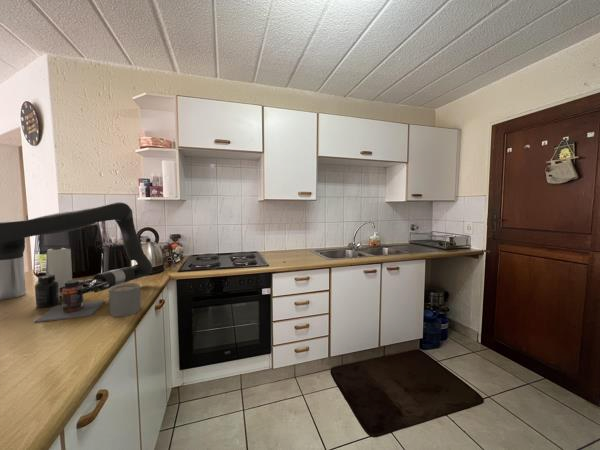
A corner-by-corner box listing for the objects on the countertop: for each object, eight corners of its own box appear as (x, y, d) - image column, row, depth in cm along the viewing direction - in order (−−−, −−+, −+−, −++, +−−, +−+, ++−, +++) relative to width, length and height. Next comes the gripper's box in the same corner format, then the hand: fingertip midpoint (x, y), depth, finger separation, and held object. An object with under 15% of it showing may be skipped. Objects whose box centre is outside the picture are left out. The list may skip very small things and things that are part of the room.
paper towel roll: (47, 295, 110) (44, 249, 108) (64, 291, 115) (61, 247, 114) (56, 298, 107) (53, 250, 105) (72, 294, 113) (70, 248, 111)
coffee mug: (135, 315, 93) (134, 289, 92) (104, 318, 90) (103, 291, 89) (146, 302, 106) (146, 279, 105) (120, 304, 103) (119, 280, 102)
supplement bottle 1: (63, 303, 103) (62, 275, 102) (42, 309, 96) (40, 279, 95) (53, 300, 105) (52, 273, 104) (32, 306, 99) (30, 277, 98)
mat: (34, 322, 86) (34, 321, 86) (55, 307, 99) (55, 305, 98) (91, 315, 92) (91, 314, 92) (104, 302, 105) (104, 300, 105)
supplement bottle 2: (87, 307, 98) (86, 279, 97) (72, 313, 92) (70, 284, 91) (74, 306, 99) (72, 278, 98) (58, 312, 93) (56, 283, 92)
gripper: (96, 269, 110) (53, 280, 95) (122, 272, 107) (82, 283, 92) (97, 286, 111) (55, 299, 95) (123, 289, 108) (83, 303, 92)
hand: (68, 291), depth 93 cm, fingers open, 8 cm apart
